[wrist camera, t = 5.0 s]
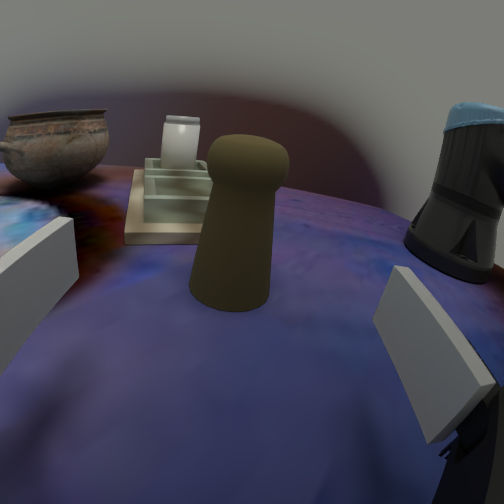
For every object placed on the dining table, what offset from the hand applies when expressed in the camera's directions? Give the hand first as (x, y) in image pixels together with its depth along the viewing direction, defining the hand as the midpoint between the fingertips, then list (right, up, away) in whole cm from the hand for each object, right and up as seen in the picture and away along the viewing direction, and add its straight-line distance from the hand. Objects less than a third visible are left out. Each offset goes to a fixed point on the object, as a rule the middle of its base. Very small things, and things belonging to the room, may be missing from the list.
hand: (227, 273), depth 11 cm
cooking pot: (-32, +12, +29) cm, 44 cm away
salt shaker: (-11, +12, +34) cm, 38 cm away
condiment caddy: (-9, +8, +29) cm, 31 cm away
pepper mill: (-1, -2, +11) cm, 11 cm away
